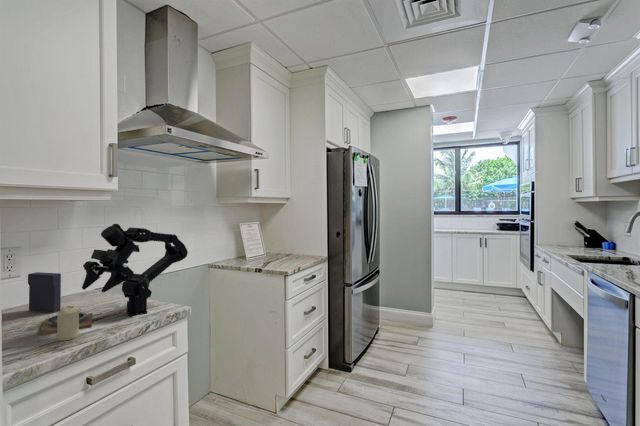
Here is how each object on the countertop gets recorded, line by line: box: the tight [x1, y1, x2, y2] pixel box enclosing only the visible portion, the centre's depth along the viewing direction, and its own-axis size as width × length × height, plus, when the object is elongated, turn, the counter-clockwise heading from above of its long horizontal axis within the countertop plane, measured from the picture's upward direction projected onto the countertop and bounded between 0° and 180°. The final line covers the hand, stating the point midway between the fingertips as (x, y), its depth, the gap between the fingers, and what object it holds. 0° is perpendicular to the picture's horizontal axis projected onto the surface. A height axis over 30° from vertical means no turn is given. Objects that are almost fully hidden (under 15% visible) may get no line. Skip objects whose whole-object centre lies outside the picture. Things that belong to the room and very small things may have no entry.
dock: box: [38, 311, 94, 335], centre depth 117 cm, size 14×14×2 cm
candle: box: [56, 305, 80, 341], centre depth 106 cm, size 6×6×10 cm
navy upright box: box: [27, 271, 62, 314], centre depth 131 cm, size 11×4×15 cm, turn 84°
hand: (92, 290), depth 114 cm, fingers open, 9 cm apart
